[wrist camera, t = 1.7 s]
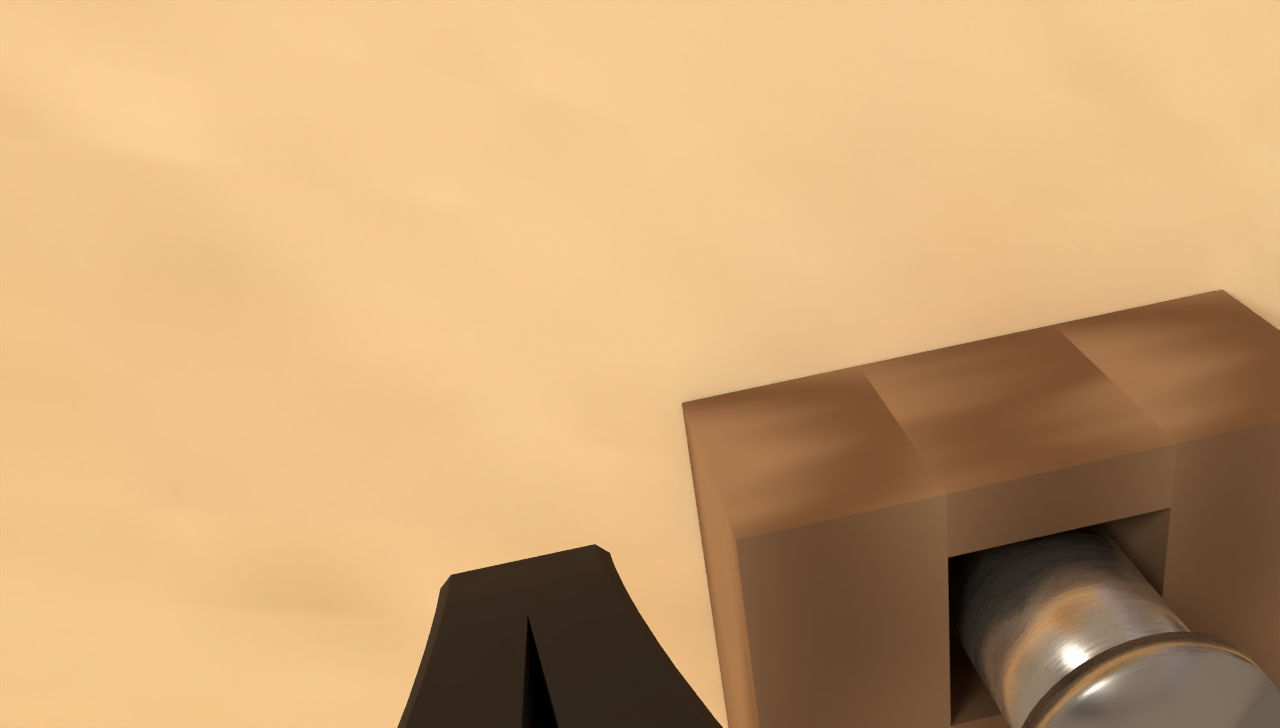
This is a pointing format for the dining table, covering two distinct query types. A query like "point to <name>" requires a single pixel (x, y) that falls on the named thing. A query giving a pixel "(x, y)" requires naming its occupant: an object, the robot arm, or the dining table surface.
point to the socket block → (982, 502)
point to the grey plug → (1095, 642)
